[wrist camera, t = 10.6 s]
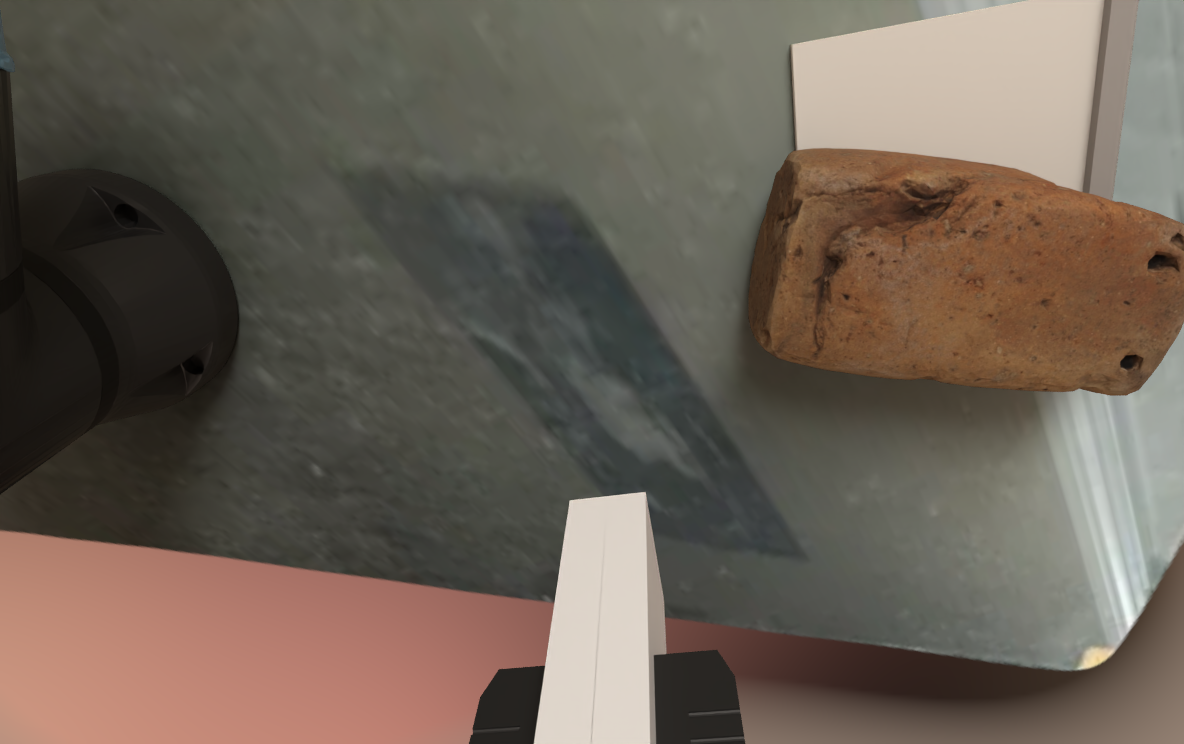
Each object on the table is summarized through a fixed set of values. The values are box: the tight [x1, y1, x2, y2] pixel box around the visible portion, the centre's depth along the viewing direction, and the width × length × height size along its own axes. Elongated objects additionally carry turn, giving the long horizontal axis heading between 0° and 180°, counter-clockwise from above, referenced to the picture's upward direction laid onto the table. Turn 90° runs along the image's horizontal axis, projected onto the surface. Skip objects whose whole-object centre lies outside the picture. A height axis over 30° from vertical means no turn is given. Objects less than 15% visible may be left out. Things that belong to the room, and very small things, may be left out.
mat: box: [790, 0, 1139, 201], centre depth 38 cm, size 16×16×1 cm
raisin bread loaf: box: [749, 148, 1184, 395], centre depth 36 cm, size 11×8×20 cm
